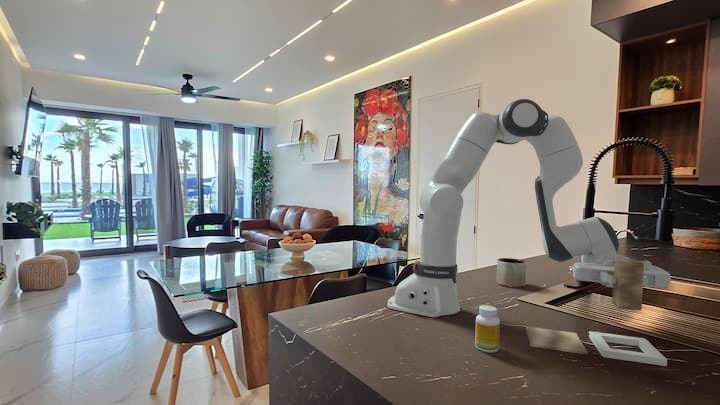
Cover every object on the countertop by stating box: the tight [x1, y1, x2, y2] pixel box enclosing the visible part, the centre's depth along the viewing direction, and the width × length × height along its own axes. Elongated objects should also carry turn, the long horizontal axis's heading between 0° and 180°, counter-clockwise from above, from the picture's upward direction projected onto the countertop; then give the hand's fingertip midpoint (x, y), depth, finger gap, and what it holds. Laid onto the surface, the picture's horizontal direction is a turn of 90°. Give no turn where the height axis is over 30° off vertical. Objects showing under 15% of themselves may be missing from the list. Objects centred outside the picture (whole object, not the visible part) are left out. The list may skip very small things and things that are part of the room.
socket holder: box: [588, 330, 668, 367], centre depth 87 cm, size 12×12×2 cm
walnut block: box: [612, 258, 644, 312], centre depth 87 cm, size 4×4×11 cm
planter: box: [495, 257, 527, 288], centre depth 146 cm, size 11×11×10 cm
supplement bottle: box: [474, 304, 501, 354], centre depth 87 cm, size 5×5×10 cm
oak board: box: [525, 326, 589, 355], centre depth 92 cm, size 12×12×1 cm
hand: (629, 282), depth 86 cm, fingers closed on walnut block, 4 cm apart
